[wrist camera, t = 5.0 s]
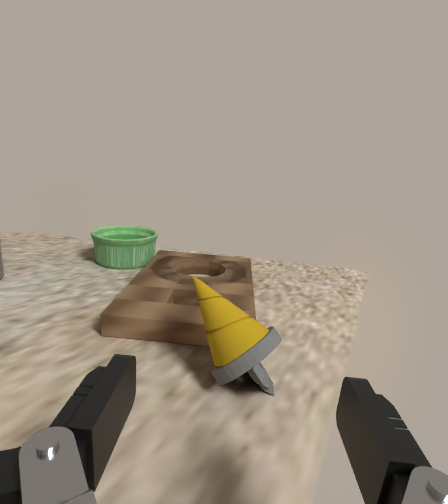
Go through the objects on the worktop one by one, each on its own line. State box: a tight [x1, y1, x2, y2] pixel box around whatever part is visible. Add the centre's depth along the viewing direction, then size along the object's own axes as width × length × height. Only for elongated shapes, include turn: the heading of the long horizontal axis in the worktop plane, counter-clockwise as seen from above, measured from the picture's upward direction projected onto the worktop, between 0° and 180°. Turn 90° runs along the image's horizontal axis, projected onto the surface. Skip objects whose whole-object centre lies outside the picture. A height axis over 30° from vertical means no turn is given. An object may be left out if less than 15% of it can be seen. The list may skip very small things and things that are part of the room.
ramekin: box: [91, 226, 157, 269], centre depth 46 cm, size 9×9×4 cm
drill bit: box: [193, 276, 282, 396], centre depth 23 cm, size 5×5×10 cm
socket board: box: [101, 250, 256, 346], centre depth 36 cm, size 13×20×2 cm, turn 177°
